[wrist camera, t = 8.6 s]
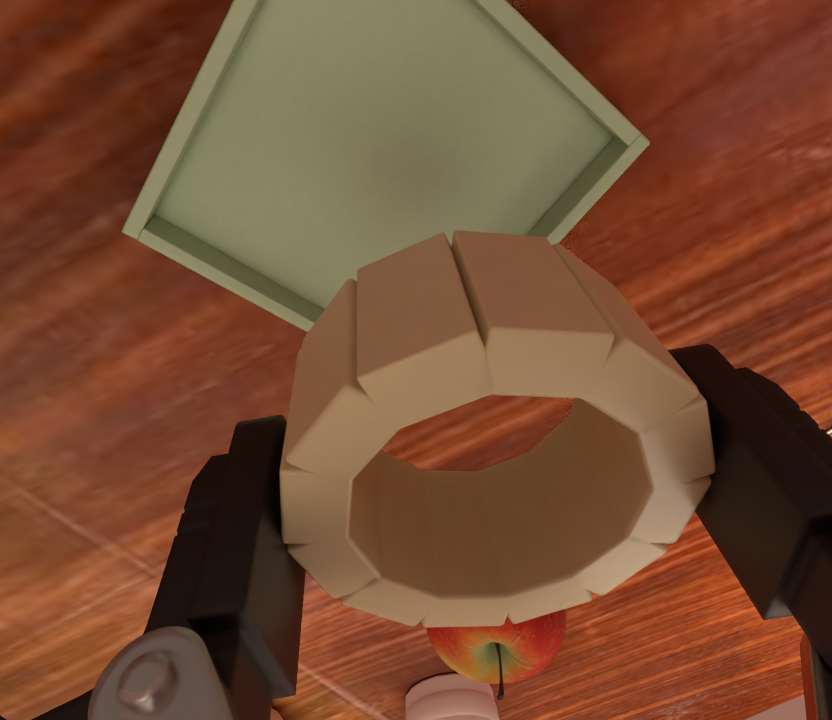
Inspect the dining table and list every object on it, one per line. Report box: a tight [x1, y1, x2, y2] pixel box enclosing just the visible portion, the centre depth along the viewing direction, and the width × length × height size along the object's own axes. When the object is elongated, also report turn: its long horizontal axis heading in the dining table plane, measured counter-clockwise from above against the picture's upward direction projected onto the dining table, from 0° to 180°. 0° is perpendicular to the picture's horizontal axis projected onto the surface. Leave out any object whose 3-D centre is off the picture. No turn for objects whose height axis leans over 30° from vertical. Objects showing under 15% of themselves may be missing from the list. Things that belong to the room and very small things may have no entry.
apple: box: [426, 609, 566, 700], centre depth 33 cm, size 8×8×10 cm
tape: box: [279, 230, 716, 627], centre depth 9 cm, size 6×6×3 cm
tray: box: [122, 0, 650, 332], centre depth 21 cm, size 14×14×2 cm
